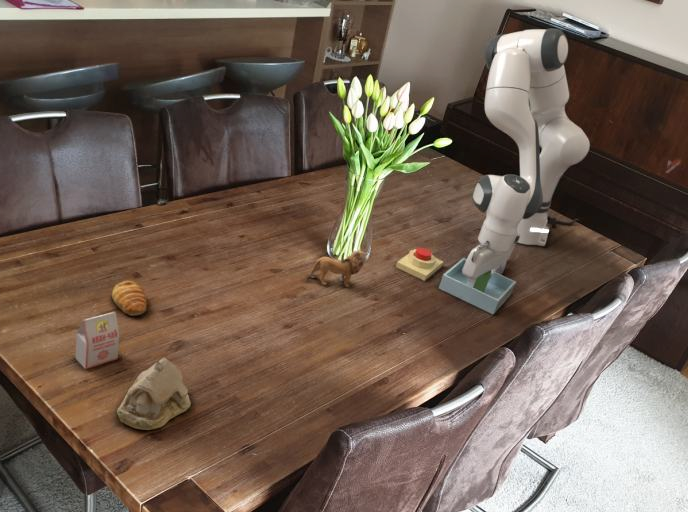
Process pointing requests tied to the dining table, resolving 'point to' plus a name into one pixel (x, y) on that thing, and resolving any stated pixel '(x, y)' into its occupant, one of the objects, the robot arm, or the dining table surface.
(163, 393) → the ceramic model
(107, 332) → the tea bag
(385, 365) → the dining table surface
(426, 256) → the button
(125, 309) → the pastry
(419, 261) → the button housing
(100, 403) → the dining table surface
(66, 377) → the dining table surface
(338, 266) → the lion figurine
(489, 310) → the basin
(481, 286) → the green block
